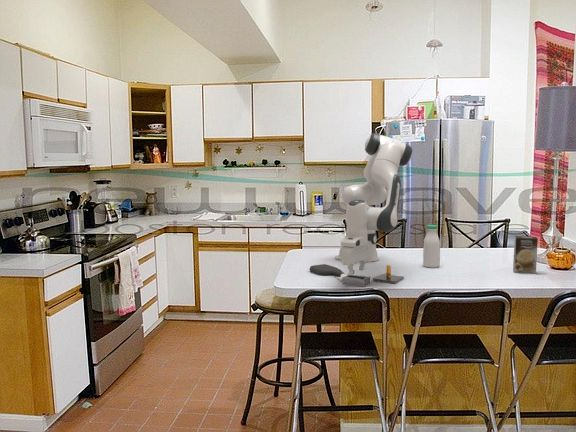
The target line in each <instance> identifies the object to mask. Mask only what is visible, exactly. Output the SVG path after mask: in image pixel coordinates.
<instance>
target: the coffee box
mask: <svg viewBox="0 0 576 432" xmlns="http://www.w3.org/2000/svg"><path fill="white" fill-rule="evenodd" d="M538 239H539V238H538V237H537V236H526V235H524V236H523V235H514V242H513V243H514V244H513V245H514V247H513V265H512V271H513V272H514V273H516V274H527V273H529V274H531V275H536V274H537V262H538V261H537V259H538V257H537V256H538V243H539V240H538Z"/></svg>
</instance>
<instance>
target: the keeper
mask: <svg viewBox="0 0 576 432" xmlns="http://www.w3.org/2000/svg"><path fill="white" fill-rule="evenodd" d="M385 267H386V269H385V270H386V273H385V274H384V273H380V274H379V275H377V276H375V277H374V278H372V282H377V283H384V284H391V285H396V284H398V283H399V282H401V281H403V280H404V279H405V277H404V276H405V275H404V276H401V275H395V274H392V272H391V271H392V267H391V265H390V264H388V265H386V266H385Z"/></svg>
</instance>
